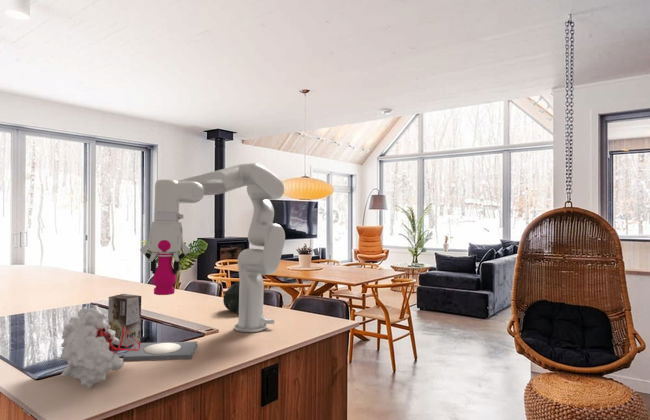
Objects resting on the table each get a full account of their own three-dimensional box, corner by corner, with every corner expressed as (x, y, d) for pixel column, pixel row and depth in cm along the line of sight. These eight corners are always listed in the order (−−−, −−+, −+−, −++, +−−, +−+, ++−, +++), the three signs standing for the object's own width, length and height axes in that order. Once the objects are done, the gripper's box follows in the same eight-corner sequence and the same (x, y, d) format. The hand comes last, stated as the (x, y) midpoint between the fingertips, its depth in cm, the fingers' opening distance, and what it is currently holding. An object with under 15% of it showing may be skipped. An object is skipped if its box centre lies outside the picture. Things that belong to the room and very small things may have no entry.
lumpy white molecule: (134, 393, 122) (97, 332, 134) (161, 346, 118) (120, 287, 129) (63, 418, 105) (26, 345, 117) (91, 364, 101) (50, 294, 112)
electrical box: (141, 342, 147) (142, 295, 147) (125, 347, 141) (126, 298, 141) (122, 338, 151) (124, 293, 151) (106, 343, 145) (108, 296, 145)
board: (197, 344, 145) (197, 340, 145) (191, 358, 132) (191, 353, 132) (135, 346, 142) (135, 342, 142) (123, 360, 128) (123, 356, 128)
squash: (250, 295, 210) (233, 274, 204) (266, 301, 199) (248, 279, 192) (230, 316, 203) (211, 295, 197) (245, 324, 192) (226, 302, 185)
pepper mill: (179, 292, 140) (181, 231, 141) (169, 296, 133) (171, 232, 134) (158, 291, 141) (160, 231, 141) (147, 295, 134) (149, 231, 134)
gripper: (195, 218, 143) (193, 271, 142) (141, 217, 140) (139, 271, 139) (192, 218, 135) (190, 275, 135) (135, 217, 132) (133, 275, 132)
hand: (164, 272), depth 137 cm, fingers closed on pepper mill, 5 cm apart
